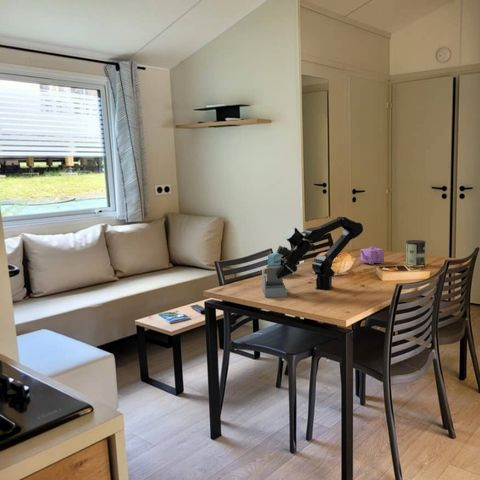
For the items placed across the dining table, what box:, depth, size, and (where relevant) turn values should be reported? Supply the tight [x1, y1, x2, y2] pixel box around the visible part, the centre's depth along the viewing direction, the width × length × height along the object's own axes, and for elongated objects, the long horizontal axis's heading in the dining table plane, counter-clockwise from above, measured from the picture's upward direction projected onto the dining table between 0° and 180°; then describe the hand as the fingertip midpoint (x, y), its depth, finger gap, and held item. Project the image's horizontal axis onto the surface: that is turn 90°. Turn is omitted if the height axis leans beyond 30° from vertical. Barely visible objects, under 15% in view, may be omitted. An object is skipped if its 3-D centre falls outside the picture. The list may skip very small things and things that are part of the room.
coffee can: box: [405, 239, 426, 266], centre depth 291 cm, size 10×10×14 cm
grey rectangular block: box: [266, 264, 284, 286], centre depth 241 cm, size 7×3×12 cm, turn 92°
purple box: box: [359, 245, 385, 265], centre depth 303 cm, size 18×14×10 cm
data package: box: [267, 252, 282, 265], centre depth 281 cm, size 12×4×12 cm, turn 133°
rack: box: [261, 267, 288, 298], centre depth 241 cm, size 10×16×12 cm, turn 1°
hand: (276, 275), depth 241 cm, fingers open, 9 cm apart
